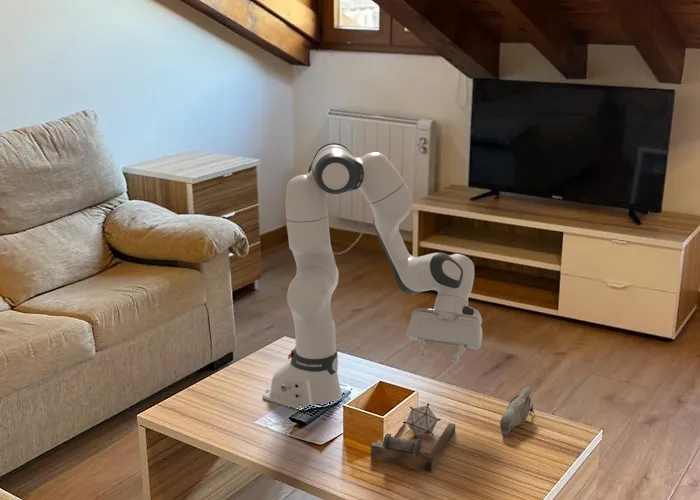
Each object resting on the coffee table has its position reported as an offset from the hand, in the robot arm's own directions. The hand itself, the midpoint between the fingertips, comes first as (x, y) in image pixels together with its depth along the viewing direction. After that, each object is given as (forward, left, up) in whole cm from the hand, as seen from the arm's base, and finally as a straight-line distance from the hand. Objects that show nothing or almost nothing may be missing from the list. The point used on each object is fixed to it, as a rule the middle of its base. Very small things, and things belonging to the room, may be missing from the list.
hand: (438, 358), depth 223 cm
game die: (0, -13, -16) cm, 21 cm away
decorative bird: (+21, +1, -16) cm, 27 cm away
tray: (0, -19, -16) cm, 25 cm away
